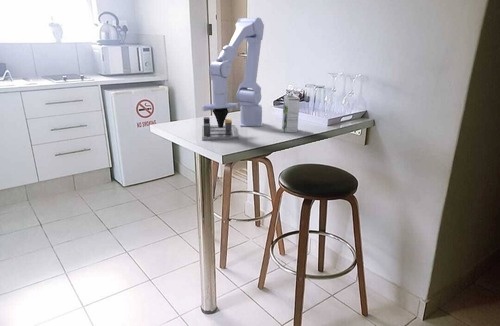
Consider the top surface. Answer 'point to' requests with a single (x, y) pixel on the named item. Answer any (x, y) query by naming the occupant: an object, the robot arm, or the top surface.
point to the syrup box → (290, 113)
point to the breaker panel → (217, 132)
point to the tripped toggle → (228, 125)
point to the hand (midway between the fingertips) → (220, 127)
